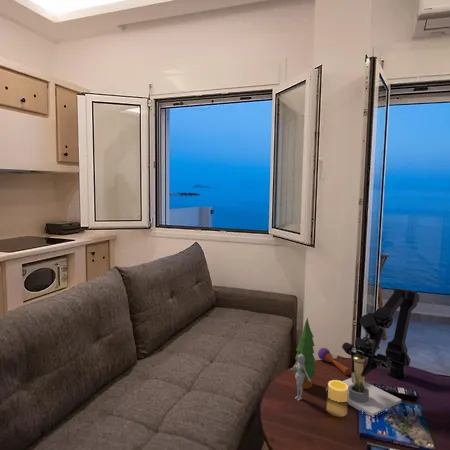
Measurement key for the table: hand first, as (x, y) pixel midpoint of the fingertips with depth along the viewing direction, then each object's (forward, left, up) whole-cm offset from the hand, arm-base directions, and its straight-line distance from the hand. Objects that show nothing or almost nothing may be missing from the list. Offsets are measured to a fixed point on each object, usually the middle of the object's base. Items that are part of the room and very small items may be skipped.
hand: (357, 374), depth 144 cm
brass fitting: (-1, 0, -7) cm, 7 cm away
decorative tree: (+8, -21, -12) cm, 25 cm away
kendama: (-17, -26, -12) cm, 34 cm away
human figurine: (+17, -14, -12) cm, 25 cm away
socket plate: (-5, -1, -11) cm, 13 cm away
